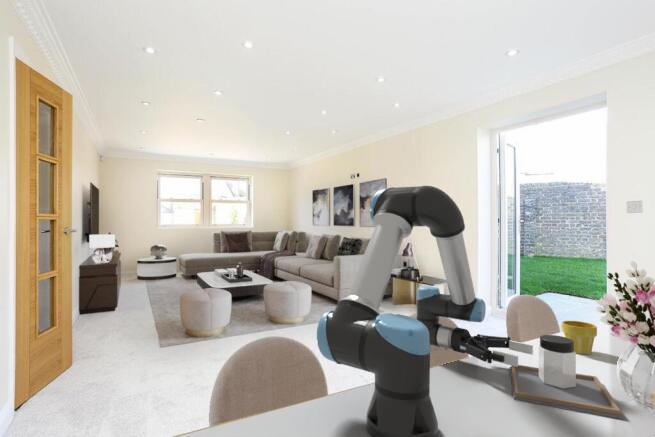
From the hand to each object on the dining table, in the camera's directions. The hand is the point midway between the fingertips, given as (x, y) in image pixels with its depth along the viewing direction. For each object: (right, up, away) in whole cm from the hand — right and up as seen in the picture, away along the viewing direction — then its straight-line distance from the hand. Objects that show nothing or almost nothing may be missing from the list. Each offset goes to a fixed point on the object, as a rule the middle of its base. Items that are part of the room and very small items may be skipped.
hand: (525, 355), depth 104 cm
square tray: (+6, -7, -6) cm, 11 cm away
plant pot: (+33, -8, +26) cm, 43 cm away
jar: (+8, -7, -2) cm, 10 cm away
